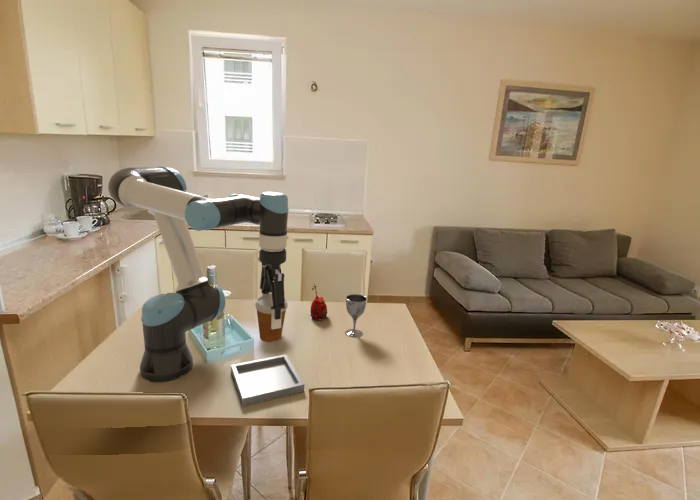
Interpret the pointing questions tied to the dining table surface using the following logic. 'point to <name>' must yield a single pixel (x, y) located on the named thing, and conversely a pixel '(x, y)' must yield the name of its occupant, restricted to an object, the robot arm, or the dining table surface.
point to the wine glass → (355, 312)
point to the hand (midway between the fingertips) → (271, 320)
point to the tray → (266, 379)
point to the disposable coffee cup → (268, 319)
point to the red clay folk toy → (318, 307)
